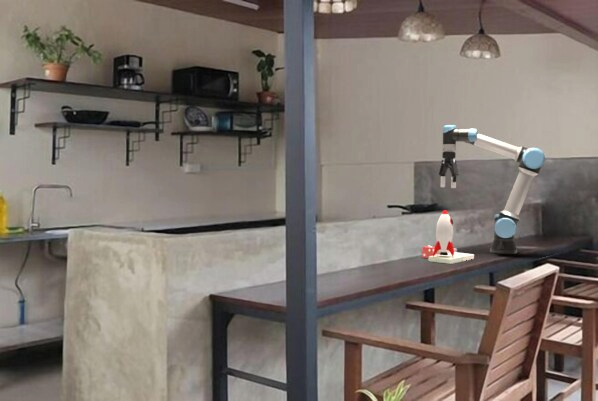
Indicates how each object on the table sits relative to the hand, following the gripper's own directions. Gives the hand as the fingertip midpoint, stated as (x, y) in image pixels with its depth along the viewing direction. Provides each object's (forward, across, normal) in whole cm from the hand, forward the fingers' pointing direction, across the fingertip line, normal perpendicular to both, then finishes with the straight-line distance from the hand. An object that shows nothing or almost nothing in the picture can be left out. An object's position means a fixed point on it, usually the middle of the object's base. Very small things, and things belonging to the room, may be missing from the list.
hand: (448, 187), depth 378 cm
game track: (+39, +30, -12) cm, 50 cm away
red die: (+38, +20, -20) cm, 48 cm away
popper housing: (+38, +12, -8) cm, 41 cm away
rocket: (+36, +33, -18) cm, 52 cm away
